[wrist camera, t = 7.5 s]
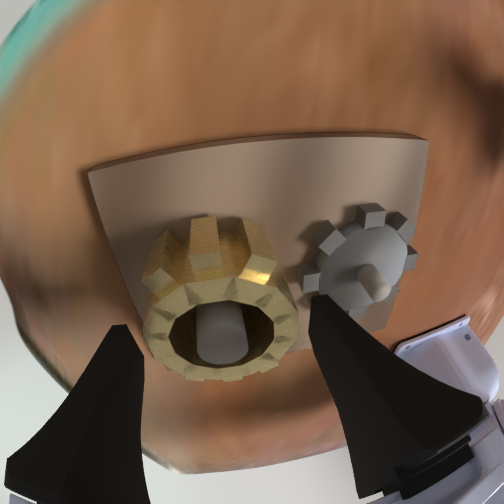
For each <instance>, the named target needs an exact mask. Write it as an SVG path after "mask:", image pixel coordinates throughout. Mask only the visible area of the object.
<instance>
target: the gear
mask: <svg viewBox="0 0 504 504" xmlns="http://www.w3.org/2000/svg"><path fill="white" fill-rule="evenodd" d="M141 283H142V284H143V285H144V286H146V287H147V288H148V289H149V296H148V301H147V307H146V313H145V319H144V326H143V332H142V336H143V337H144V339H145V341H146V343H147V345H148V347H149V348H150V350H151V352H152V354H153V356H154V358H155V359H156V360H157V361H159V362H161V363H162V364H164V365H166V366H168V367H169V368H171V369H173V370H174V371H176V372H178V373H180V374H181V375H184V379H189V380H195V381H201V382H203V381H204V380H205V379H210V380H221V379H223V381H224V382H227V381H234V380H241V379H243V376H249V375H251V374H253V373H255V372H257V371H260V372H262V373H264V372H266V371H268V370H270V369H272V368H274V367H276V366H278V365H279V360H280V359H281V357H282V356H283V355H284V354H285V353H286V351H287V350H288V349H289V348H290V347H291V346H292V344H293V343H294V342H295V341H296V340H297V334H298V318H299V311H298V309H297V306H296V304H295V301H294V299H293V296H292V294H291V291H290V289H289V286H288V284H287V281H286V279H285V276H284V274H283V271H282V269H281V266H280V264H279V263H278V260H277V257H276V255H275V253H274V250H273V248H272V245H271V243H270V240H269V238H268V236H267V233H266V231H265V228H264V226H263V225H260V224H257V223H254V222H252V221H249V220H246V219H243V218H242V219H241V221H240V223H239V225H238V227H237V229H236V231H232V230H229V229H227V228H225V229H219V230H218V227H217V221H216V216H209V217H203V218H196V219H191V230H190V234H187V235H186V236H184V237H183V238H182V239H180V240H178V239H177V238H176V237H175V236H174V235H173V234H172V233H171V232H170V231H169V230H166V231H165V232H164V233H163V234H161V235H160V236H159V237H158V238H156V239H155V240H154V241H153V242H152V243H151V245H150V249H149V253H148V256H147V260H146V264H145V268H144V272H143V276H142V280H141ZM225 300H232V301H236V302H240V303H245V304H249V306H247V307H246V308H244V309H242V315H243V321H244V326H245V331H246V336H247V341H248V352H247V353H246V355H245V356H244V357H243V358H241V359H240V360H238V361H236V362H233V363H229V364H213V363H209V362H206V361H205V360H203V359H202V358H201V357H200V356H199V355H198V352H197V327H196V314H194V313H192V312H190V311H189V310H190V309H191V308H193V307H195V306H196V305H198V304H205V303H212V302H218V301H225Z"/></svg>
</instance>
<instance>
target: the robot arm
mask: <svg viewBox="0 0 504 504" xmlns="http://www.w3.org/2000/svg"><path fill="white" fill-rule="evenodd" d="M469 320H470V317H469V316H468V315H467V316H465V317H463V318H461V319H458V320H456V321H454V322H452V323H450V324H447V325H445V326H443V327H440V328H438V329H436V330H433V331H431V332H428V333H426V334H423V335H421V336H418V337H416V338H413V339H410V340H408V341H405V342H402V343H401V344H399V345H398V346H397V348H396V350H395V352H394V353H393V352H392V351H390V350H389V349H388V348H386V347H385V346H384V345H383V344H381V343H380V342H379V341H378V340H376V339H375V338H374V337H373V336H372V335H370V334H369V333H368V332H367V331H366V330H365V329H364V328H362V327H361V326H360V325H359V324H358V323H357V322H356V321H355V320H354V319H353V318H351V317H350V316H349V315H348V314H347V313H346V312H345V311H344V310H343V309H342V308H341V307H340V306H339V305H338V304H337V303H336V302H335V301H334V300H333V299H332V298H331V297H330V296H329V295H327V294H324V295H319V296H314V297H311V308H310V318H309V328H308V334H309V338H310V341H311V345H312V348H313V351H314V355H315V357H316V360H317V362H318V364H319V367H320V369H321V371H322V373H323V376H324V378H325V380H326V383H327V385H328V387H329V390H330V392H331V394H332V396H333V399H334V401H335V404H336V407H337V409H338V412H339V416H340V419H341V423H342V426H343V430H344V433H345V437H346V441H347V445H348V449H349V453H350V458H351V462H352V467H353V472H354V478H355V484H356V491H357V494H358V497H359V499H361V498H365V497H368V496H370V495H373V494H376V493H378V492H381V491H382V492H383V495H384V497H382V498H380V499H377V500H375V501H373V502H370V503H367V504H504V400H500V399H497V400H496V401H495V402H494V401H491V400H492V399H493V398H494V396H495V395H496V393H497V391H498V388H499V383H500V381H499V380H500V378H499V371H498V368H497V366H496V363H495V362H494V360H493V359H492V357H491V356H490V354H489V353H488V352H487V350H486V349H485V347H484V346H483V344H482V343H481V342H480V340H479V339H478V338H477V336H476V335H475V334H474V332H473V331H472V330H471V328H470V327H469V326H468V322H469ZM143 391H144V355H143V354H142V352H141V350H140V349H139V347H138V345H137V343H136V342H135V340H134V338H133V336H132V334H131V333H130V331H129V329H128V327H127V325H126V324H123V325H112V327H111V328H110V330H109V331H108V333H107V334H106V336H105V338H104V339H103V341H102V342H101V344H100V346H99V347H98V349H97V351H96V352H95V354H94V356H93V357H92V359H91V361H90V362H89V364H88V365H87V367H86V369H85V370H84V372H83V374H82V375H81V377H80V378H79V380H78V381H77V383H76V384H75V386H74V387H73V389H72V390H71V392H70V393H69V395H68V396H67V398H66V399H65V400H64V402H63V403H62V404H61V405H60V407H59V408H58V410H57V411H56V412H55V413H54V414H53V416H52V417H51V418H50V419H49V420H48V421H47V422H46V423H45V425H44V426H43V427H42V428H41V429H40V430H39V431H38V432H37V433H36V434H35V435H34V436H33V437H32V438H31V439H30V440H29V441H28V442H27V443H26V444H25V445H24V446H22V447H21V448H20V449H19V450H18V451H16V452H15V453H14V454H13V455H11V456H10V457H9V458H7V463H6V471H5V482H4V485H5V487H6V488H8V489H10V490H11V491H14V492H16V493H18V494H20V495H22V496H24V497H27V498H29V499H31V500H34V501H36V502H37V504H151V503H150V499H149V496H148V491H147V486H146V481H145V476H144V468H143V461H142V451H141V414H142V402H143ZM9 504H35V503H32V502H29V501H27V500H25V499H23V498H20V497H18V496H16V495H13V494H10V502H9Z"/></svg>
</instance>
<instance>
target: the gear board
mask: <svg viewBox="0 0 504 504" xmlns="http://www.w3.org/2000/svg"><path fill="white" fill-rule="evenodd" d="M428 146H429V140H426V139H424V138H421V137H418V136H416V135H403V134H387V133H355V132H331V133H299V134H281V135H268V136H256V137H246V138H237V139H228V140H221V141H213V142H206V143H199V144H193V145H187V146H181V147H175V148H170V149H165V150H160V151H155V152H150V153H145V154H140V155H136V156H132V157H127V158H123V159H119V160H115V161H111V162H107V163H103V164H100V165H96V166H95V167H94V168H93V169H91V170H90V171H89V172H88V177H89V181H90V184H91V188H92V192H93V195H94V198H95V202H96V205H97V208H98V211H99V215H100V218H101V221H102V224H103V227H104V230H105V233H106V235H107V238H108V241H109V244H110V247H111V249H112V252H113V255H114V257H115V260H116V262H117V265H118V268H119V270H120V273H121V275H122V277H123V280H124V282H125V285H126V287H127V289H128V292H129V294H130V296H131V299H132V301H133V303H134V305H135V307H136V310H137V312H138V314H139V316H140V318H141V320H142V322H143V324H144V319H145V313H146V307H147V301H148V296H149V289H148V288H147V287H146V286H144V285H143V284H142V283H141V280H142V276H143V272H144V268H145V264H146V260H147V256H148V253H149V249H150V245H151V243H152V242H153V241H154V240H155V239H156V238H158V237H159V236H160V235H161V234H163V233H164V232H165V231H166V230H169V231H170V232H171V233H172V234H173V235H174V236H175V237H176V238H177V239H178V240H180V239H182V238H183V237H184V236H186V235H187V234H190V230H191V219H196V218H203V217H209V216H216V221H217V227H218V230H219V229H225V228H227V229H229V230H232V231H236V229H237V227H238V225H239V223H240V221H241V219H242V218H243V219H246V220H249V221H252V222H254V223H257V224H260V225H263V226H264V228H265V231H266V233H267V236H268V238H269V240H270V243H271V245H272V248H273V250H274V253H275V255H276V257H277V260H278V263H279V264H280V266H281V269H282V271H283V274H284V276H285V279H286V281H287V284H288V286H289V289H290V291H291V294H292V296H293V299H294V301H295V304H296V306H297V309H298V311H299V318H298V334H297V340H296V341H295V342H294V343H293V344H292V346H291V347H290V348H289V349H288V350H287V351H286V353H291V352H296V351H300V350H305V349H309V348H312V345H311V341H310V338H309V334H308V328H309V318H310V308H311V297H314V296H319V295H324V294H327V295H329V296H330V297H331V298H332V299H333V300H334V301H335V302H336V303H337V304H338V305H339V306H340V307H341V308H342V309H343V310H344V311H345V312H346V313H347V314H348V315H349V316H350V317H351V318H353V319H354V320H355V321H356V322H357V323H358V324H359V325H360V326H361V327H362V328H364V329H365V330H366V331H367V332H368V333H371V332H374V331H377V330H381V329H384V328H385V327H386V324H387V321H388V319H389V316H390V313H391V310H392V307H393V304H394V302H395V299H396V295H397V293H398V292H399V290H398V289H399V286H400V283H401V280H402V276H403V273H404V272H405V271H409V270H413V269H414V266H415V263H416V260H417V256H418V253H417V252H416V251H415V250H414V249H413V248H412V247H411V243H412V239H413V235H414V233H415V232H416V230H415V226H416V222H417V217H418V212H419V207H420V202H421V196H422V191H423V184H424V178H425V171H426V164H427V156H428ZM247 306H249V304H245V303H240V302H236V301H232V300H225V301H218V302H212V303H205V304H198V305H196V306H195V307H193V308H191V309H190V310H189V311H190V312H192V313H194V314H196V327H197V352H198V355H199V356H200V357H201V358H202V359H203V360H205V361H206V362H209V363H213V364H229V363H233V362H236V361H238V360H240V359H241V358H243V357H244V356H245V355H246V353H247V352H248V341H247V336H246V331H245V326H244V321H243V315H242V309H244V308H246V307H247ZM286 353H285V354H286ZM165 367H166V369H167V370H173V369H171V368H169V367H168V366H166V365H165Z"/></svg>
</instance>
